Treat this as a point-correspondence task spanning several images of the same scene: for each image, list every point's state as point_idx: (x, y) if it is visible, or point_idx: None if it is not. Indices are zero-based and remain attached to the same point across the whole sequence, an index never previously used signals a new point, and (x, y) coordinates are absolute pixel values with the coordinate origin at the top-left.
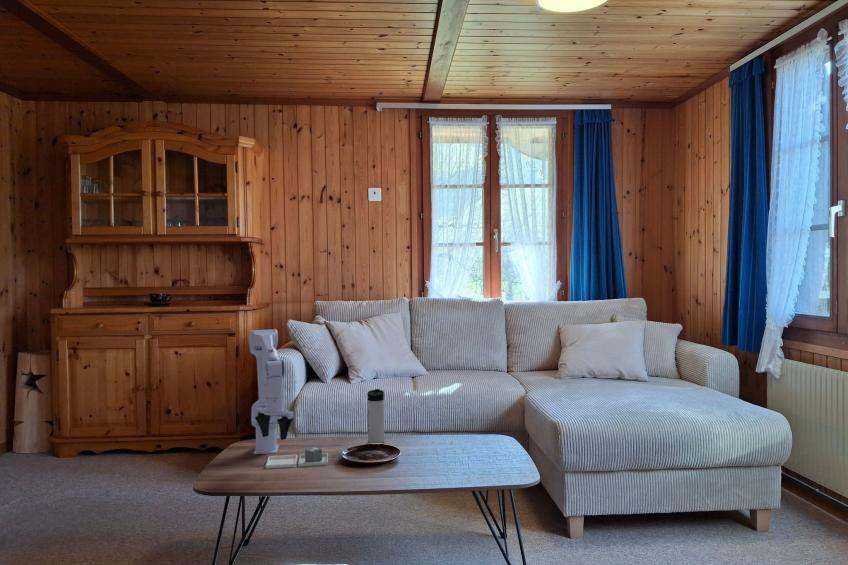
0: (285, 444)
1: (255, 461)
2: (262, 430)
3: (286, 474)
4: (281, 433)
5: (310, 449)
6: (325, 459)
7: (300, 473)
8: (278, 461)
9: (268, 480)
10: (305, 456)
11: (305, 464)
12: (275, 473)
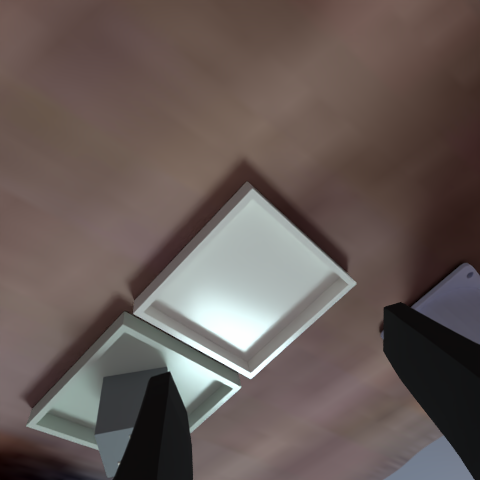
0: None
1: (390, 214)
2: (442, 345)
3: (59, 208)
4: (138, 440)
5: None
6: None
7: (12, 270)
8: (279, 286)
9: (31, 55)
10: None
11: (97, 345)
12: (130, 174)
